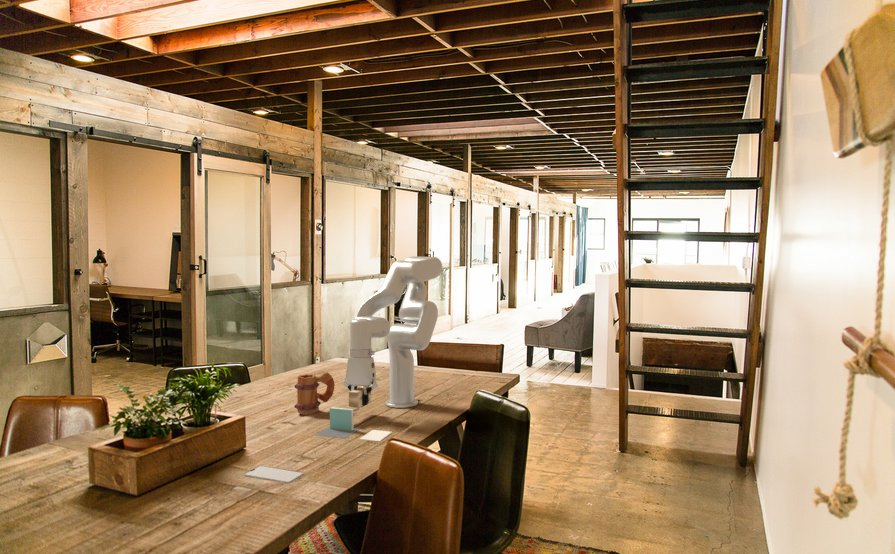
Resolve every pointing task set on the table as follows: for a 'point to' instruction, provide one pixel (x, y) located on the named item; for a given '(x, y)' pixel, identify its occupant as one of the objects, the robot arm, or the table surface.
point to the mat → (336, 432)
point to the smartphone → (274, 474)
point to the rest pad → (375, 435)
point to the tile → (341, 419)
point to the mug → (312, 392)
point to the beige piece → (356, 399)
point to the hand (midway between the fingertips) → (360, 404)
